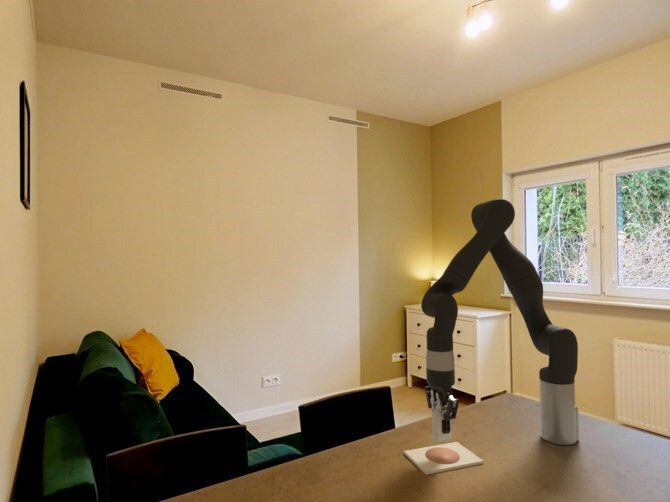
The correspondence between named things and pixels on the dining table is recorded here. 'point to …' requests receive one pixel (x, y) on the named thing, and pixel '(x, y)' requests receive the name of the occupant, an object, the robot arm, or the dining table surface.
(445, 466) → the card
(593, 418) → the dining table surface
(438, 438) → the eye dropper bottle
